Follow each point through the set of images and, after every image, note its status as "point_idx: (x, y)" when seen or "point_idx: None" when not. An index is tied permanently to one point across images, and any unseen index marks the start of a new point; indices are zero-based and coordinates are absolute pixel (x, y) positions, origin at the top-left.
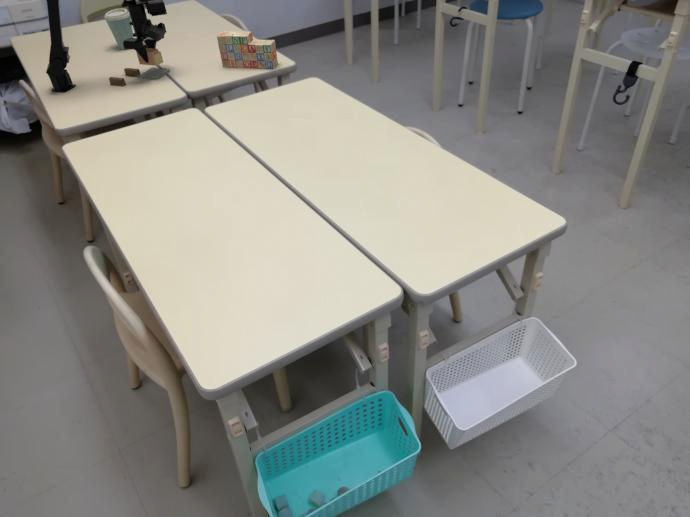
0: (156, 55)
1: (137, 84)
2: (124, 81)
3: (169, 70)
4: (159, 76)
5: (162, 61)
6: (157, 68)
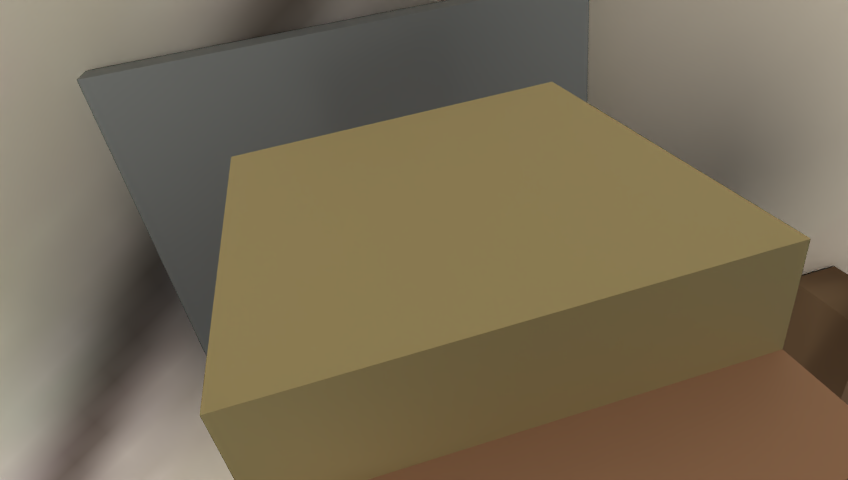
0: (654, 240)
1: (784, 155)
2: (839, 302)
3: (125, 67)
4: (508, 5)
5: (270, 162)
6: (207, 348)
